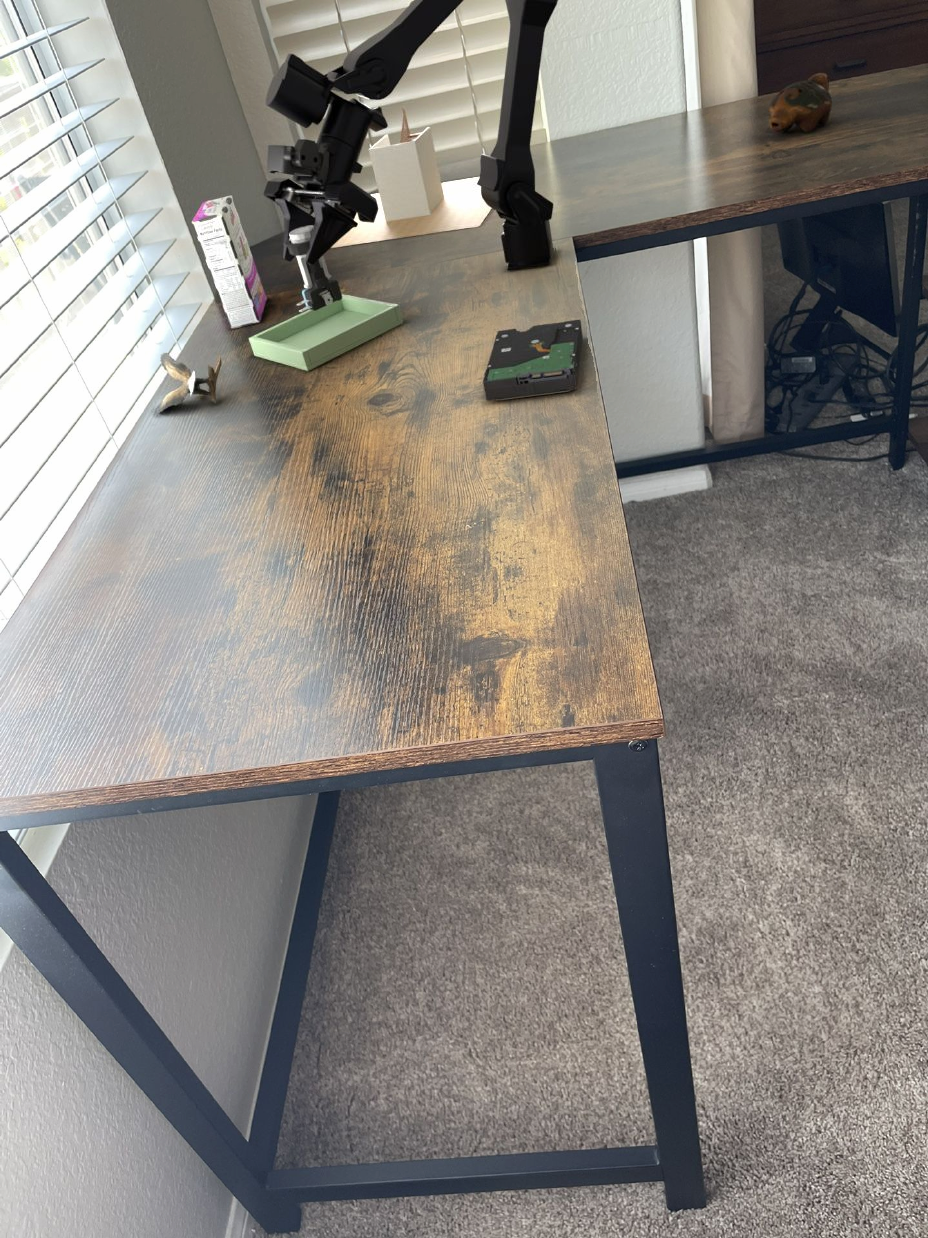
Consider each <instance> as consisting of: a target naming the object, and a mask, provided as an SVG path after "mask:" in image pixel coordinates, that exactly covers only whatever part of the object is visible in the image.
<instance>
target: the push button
mask: <svg viewBox="0 0 928 1238" xmlns="http://www.w3.org/2000/svg"><path fill="white" fill-rule="evenodd" d="M313 227H314V226H313V225H310V226H304V227H300V228H297V229H295V230H293V231H291V232H290V233H289V235H290V238H289V239H288V240H287V241H286V242H285V245H286V247H288V249H289V252H290V254H291V255H294V256H295V257H296V260H297V264H298V267H299V270H300V273H301V276H302V279H303V282H304V284H303V287H304V289H302V291H301V294H302V297H303V300H302V301H300V302H298V303H296V306H302V305H305V307H303V308H301V309H299V310H298V313H303V312H305V311H307V310H314V311H316V310H318V309H320V308H322V307H325V306H327V305H330V304H332V303H333V302H335V301H339V300H341V299H342V294H343V293H342V291H341V289H340V284H339V281H338V280H336V279H331V278H332V275H331V274H329V270H328V267H327V263H326V260H325V256H324V255H323V256H322V257H321V258H320V259H319V260H318V261H317V262H316V263H315V264H313V265H310V264H308V263H307V262H306V255H307V250H308V246H309V242H310V239H311V235H312V231H313Z"/></svg>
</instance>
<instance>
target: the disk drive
mask: <svg viewBox="0 0 928 1238" xmlns="http://www.w3.org/2000/svg"><path fill="white" fill-rule="evenodd" d="M582 328H583V327H582V320H581V319H573V320H566V321H561V322H560V321H559V322H553V323H543V324H536V325H532V327H530V328H528V329H526V330H525V331H520V330H517V328H510V329H509V328H508V329H502V330H498V331H497V333H496V335H495V338H494V341H493V346H492V349H491V352H490V356H489V359H488V363H487V365H486V369H485V372H484V374H483V379H482V383H483V384H482V386H483V390H484V395H485V400H486V401H495V402H496V401H504V400H511V399H512V400H513V399H519V398H525V397H534V396H535V397H536V396H542V395H551V394H552V395H553V394H557V393H558V394H559V393H566V392H570V391H574V390H576V389H577V387H578V382H579V373H580V365H581V357H582V356H581V355H582V348H583V341H584V336H583V335H584V334H583V329H582Z"/></svg>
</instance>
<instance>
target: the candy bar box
mask: <svg viewBox="0 0 928 1238" xmlns="http://www.w3.org/2000/svg"><path fill="white" fill-rule="evenodd" d="M191 224H192V227H193V229H194V232H195V234H196V235H195V236H196V237H197V241H198V243H199V246H200V249H201V251H202V254H203V256H204V260H205V262H206V265H207V267H208V270H209V272H210V275H211V277H212V280H213V283H214V286H215V288H216V292H217V294H218V297H219V299H220V302H221V305H222V308H223V311H224V313H225V316H226V319H227V322H228V324H229V327H230V329H239V328H242V327H248V326H251V325H254V324H259V323H261V320H262V317H263V313H264V309H265V306H266V303H267V300H268V298H267V295H266V291H265V289H264V287H263V286H264V285H263V283H262V280H261V277H260V275H259V271H258V268H257V266H256V263H255V259H254V256H253V254H252V251H251V249H250V248H251V247H250V244H249V242H248V239H247V235H246V233H245V230H244V228H243V224H242V222H241V219H240V215H239V213H238V210H237V207H236V204H235V201H234V198H233V195H227V196H222V197H218V198H214V199H209V200H206V201H204V202H202V203H201V205H200V207H199V209H198V211H197V212H196V214H195V216H194V217H193V219H192V221H191Z"/></svg>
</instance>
